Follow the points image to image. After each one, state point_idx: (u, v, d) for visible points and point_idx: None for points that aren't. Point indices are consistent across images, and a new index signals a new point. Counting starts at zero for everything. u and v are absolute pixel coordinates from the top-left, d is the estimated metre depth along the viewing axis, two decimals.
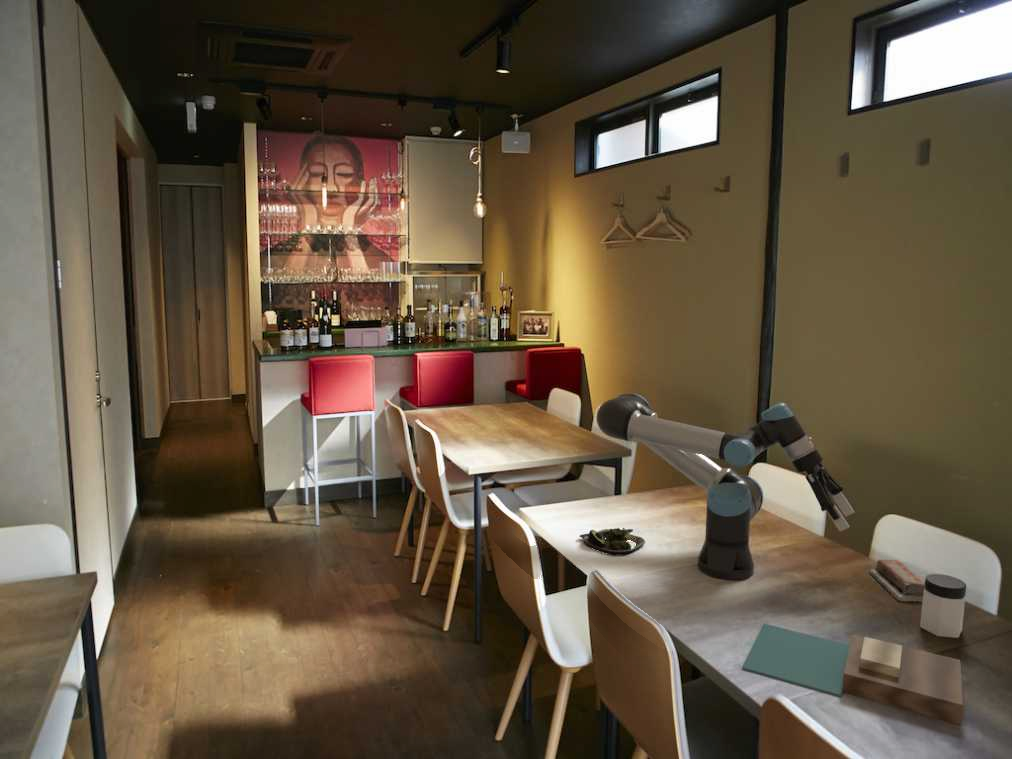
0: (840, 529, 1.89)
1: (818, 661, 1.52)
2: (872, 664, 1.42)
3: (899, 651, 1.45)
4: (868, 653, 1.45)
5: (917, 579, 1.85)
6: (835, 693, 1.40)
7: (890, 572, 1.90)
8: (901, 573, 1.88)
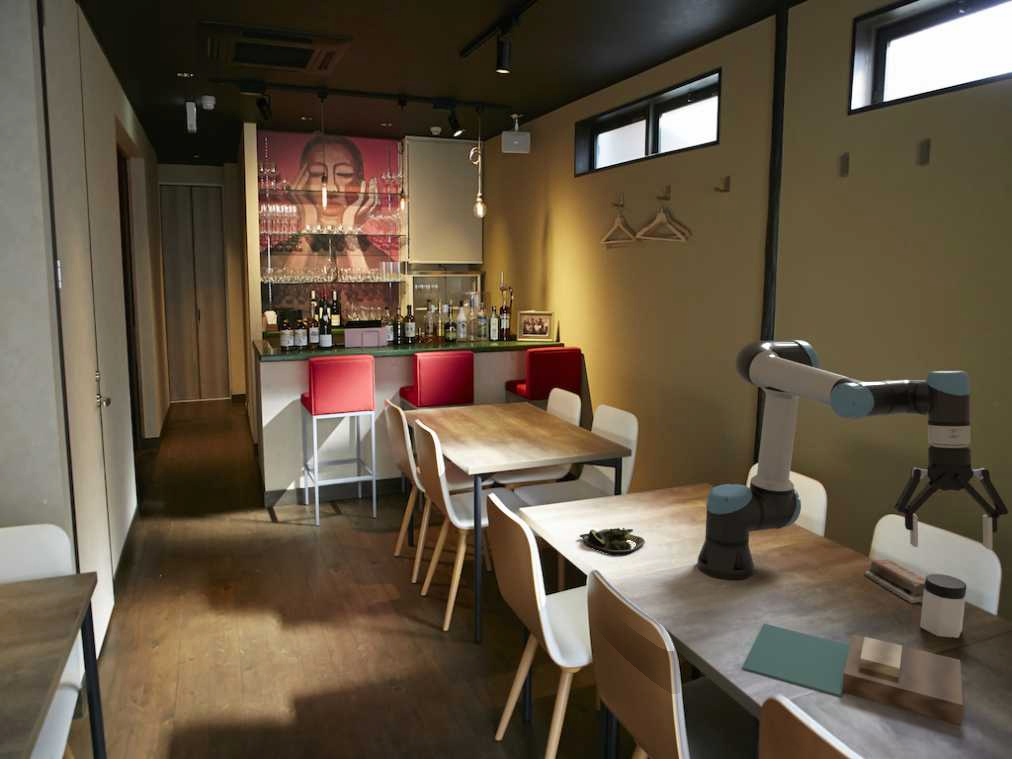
0: (910, 542, 1.51)
1: (818, 661, 1.52)
2: (872, 664, 1.42)
3: (899, 651, 1.45)
4: (868, 653, 1.45)
5: (920, 578, 1.85)
6: (835, 693, 1.40)
7: (891, 574, 1.89)
8: (903, 574, 1.87)
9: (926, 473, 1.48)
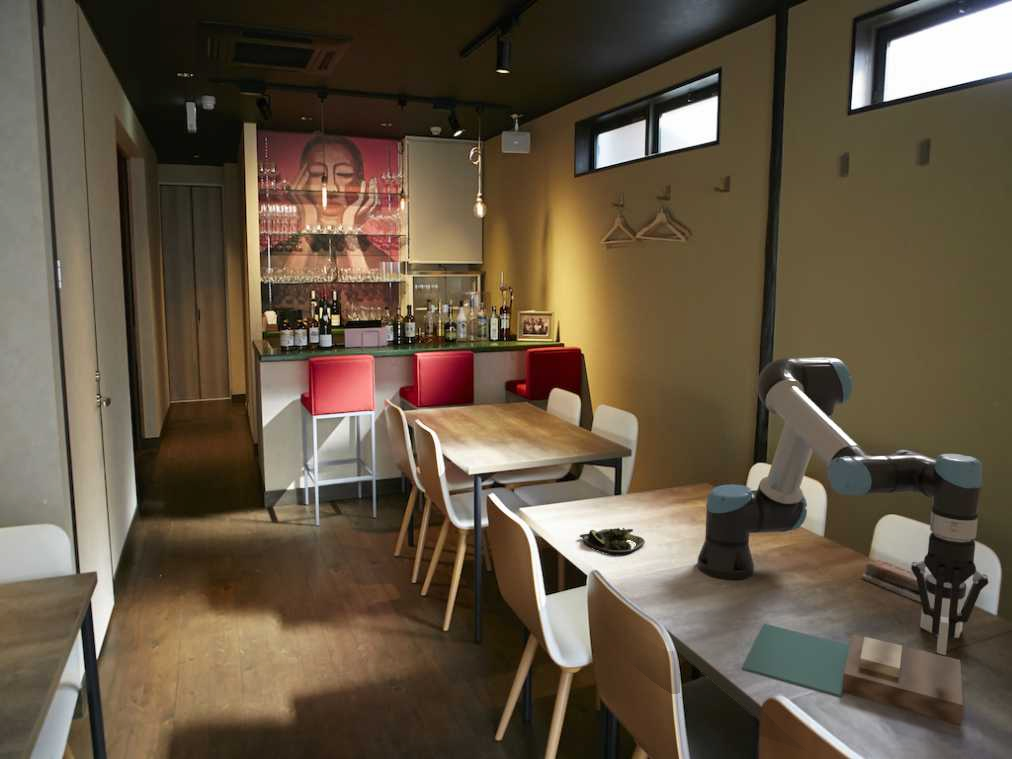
0: None
1: (818, 661, 1.52)
2: (872, 664, 1.42)
3: (899, 651, 1.45)
4: (868, 653, 1.45)
5: None
6: (835, 693, 1.40)
7: (893, 575, 1.88)
8: (906, 574, 1.87)
9: (925, 565, 1.39)
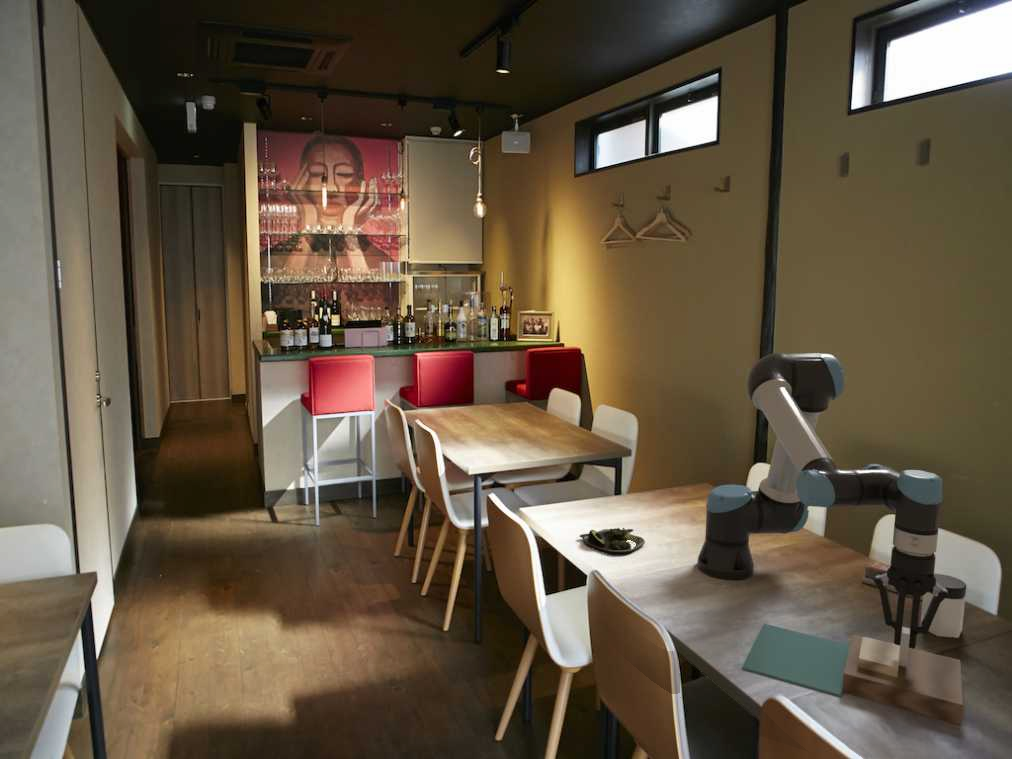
0: None
1: (818, 661, 1.52)
2: (871, 663, 1.42)
3: (897, 651, 1.46)
4: (866, 653, 1.45)
5: None
6: (835, 693, 1.40)
7: None
8: None
9: (887, 578, 1.43)
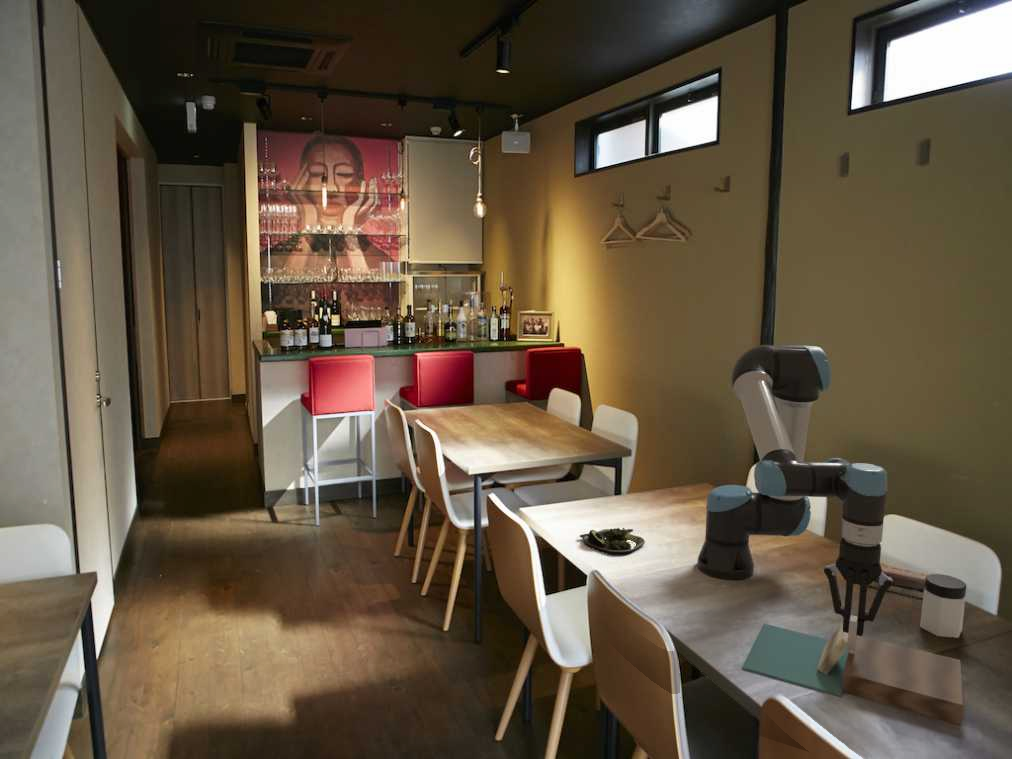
0: None
1: (818, 661, 1.52)
2: (826, 662, 1.46)
3: (838, 631, 1.51)
4: (822, 658, 1.49)
5: (922, 574, 1.88)
6: (835, 693, 1.40)
7: (899, 577, 1.87)
8: (909, 574, 1.87)
9: (836, 567, 1.47)
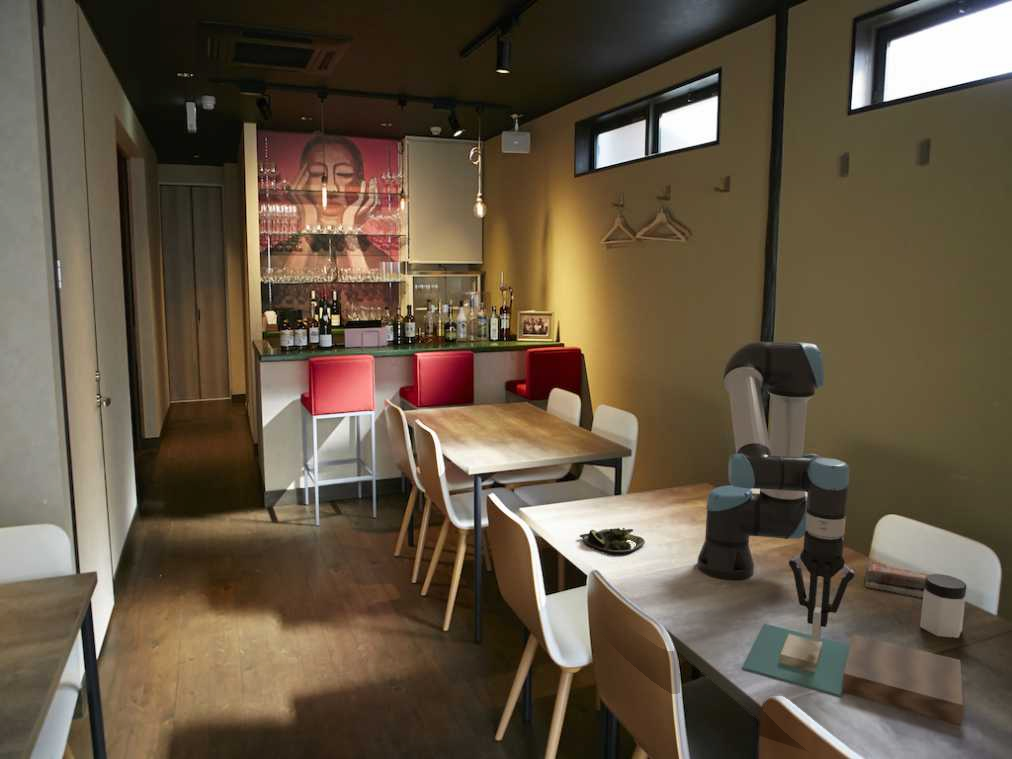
0: None
1: None
2: (803, 666, 1.49)
3: None
4: None
5: (921, 573, 1.88)
6: (835, 693, 1.40)
7: (901, 578, 1.87)
8: (910, 574, 1.87)
9: (801, 560, 1.51)
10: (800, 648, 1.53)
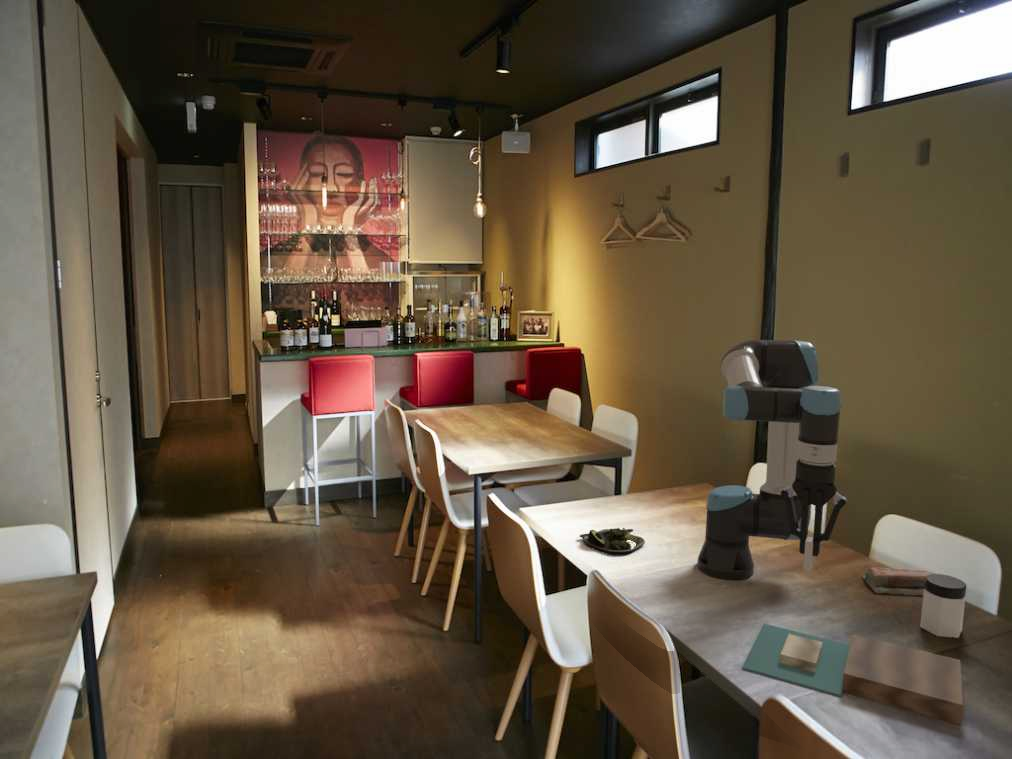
0: None
1: None
2: (803, 666, 1.49)
3: None
4: None
5: (918, 571, 1.90)
6: (835, 693, 1.40)
7: (906, 579, 1.86)
8: (911, 573, 1.88)
9: (792, 489, 1.50)
10: (800, 648, 1.53)
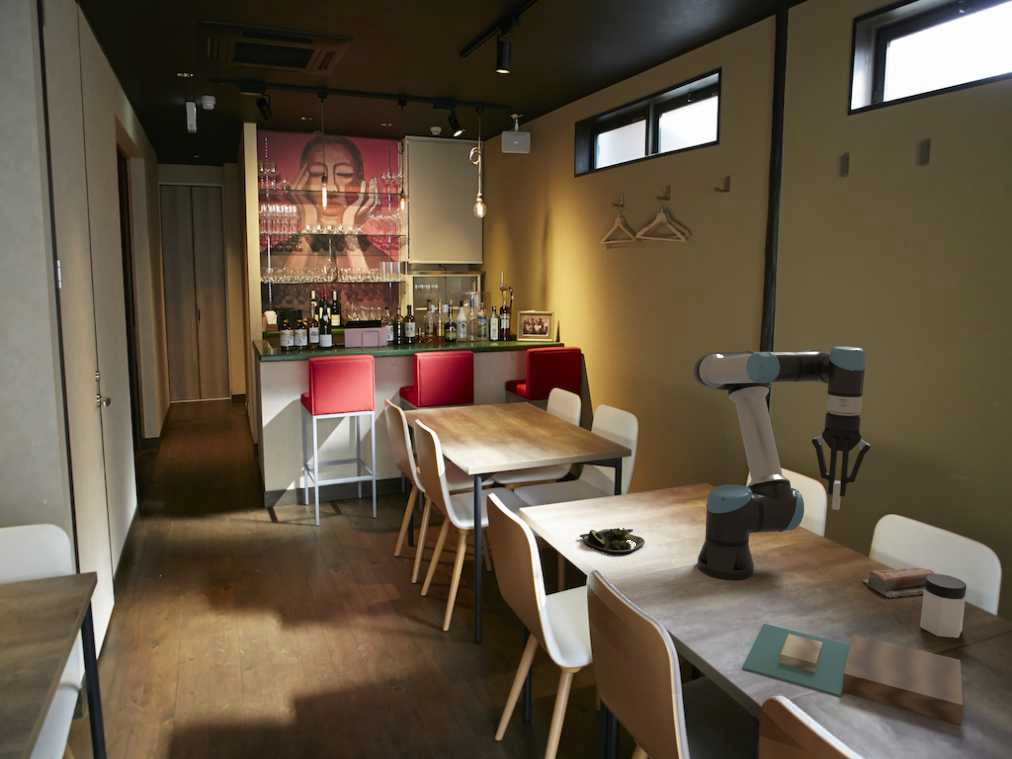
0: None
1: None
2: (803, 666, 1.49)
3: None
4: None
5: (913, 568, 1.91)
6: (835, 693, 1.40)
7: (910, 579, 1.86)
8: (912, 573, 1.88)
9: (822, 438, 1.71)
10: (800, 648, 1.53)
